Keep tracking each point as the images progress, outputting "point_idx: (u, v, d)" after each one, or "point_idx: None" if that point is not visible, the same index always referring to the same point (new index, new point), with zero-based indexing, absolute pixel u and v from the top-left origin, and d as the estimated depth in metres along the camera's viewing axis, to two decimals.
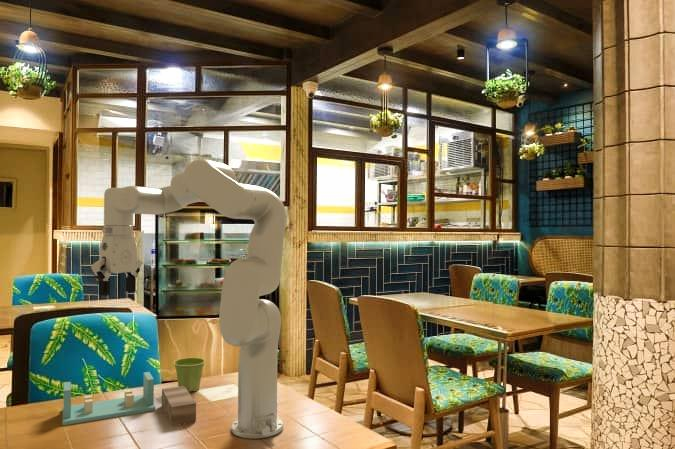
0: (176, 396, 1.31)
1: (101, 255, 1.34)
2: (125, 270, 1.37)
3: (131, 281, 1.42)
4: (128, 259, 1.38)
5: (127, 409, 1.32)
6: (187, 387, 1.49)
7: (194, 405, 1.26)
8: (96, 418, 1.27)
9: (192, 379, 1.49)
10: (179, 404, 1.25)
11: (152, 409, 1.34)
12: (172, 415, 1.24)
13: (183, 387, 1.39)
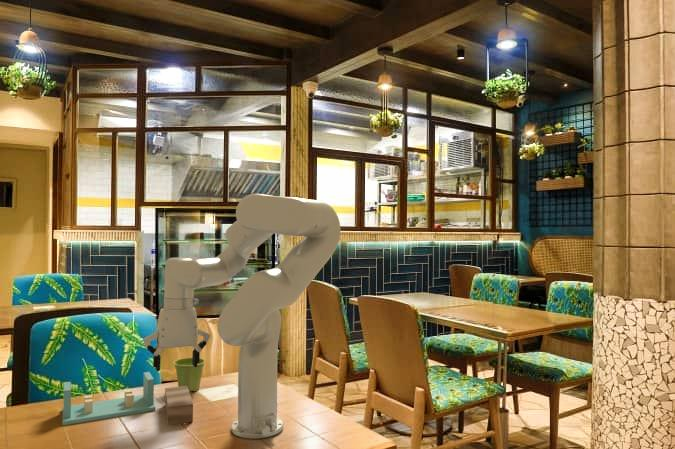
0: (175, 396, 1.31)
1: (197, 327, 1.34)
2: None
3: None
4: None
5: (127, 409, 1.32)
6: None
7: (191, 406, 1.26)
8: (96, 418, 1.27)
9: (192, 379, 1.49)
10: (176, 405, 1.25)
11: (152, 409, 1.34)
12: (168, 415, 1.24)
13: (186, 387, 1.39)
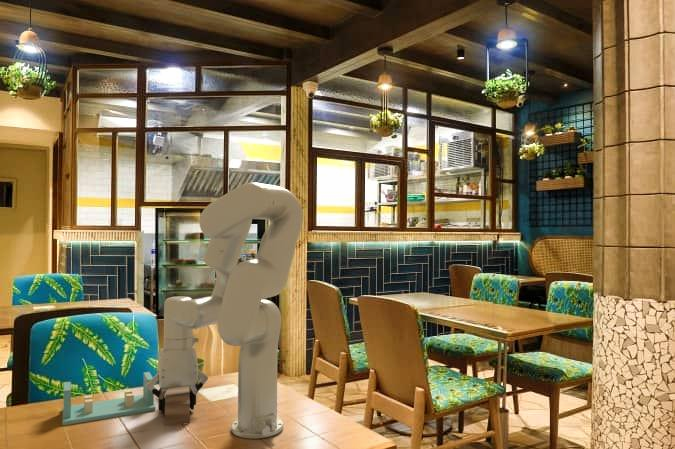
0: (174, 395, 1.31)
1: (197, 365, 1.34)
2: None
3: None
4: None
5: (127, 409, 1.32)
6: None
7: (188, 405, 1.25)
8: (96, 418, 1.27)
9: None
10: (173, 404, 1.25)
11: (152, 409, 1.34)
12: (165, 414, 1.24)
13: (187, 386, 1.39)
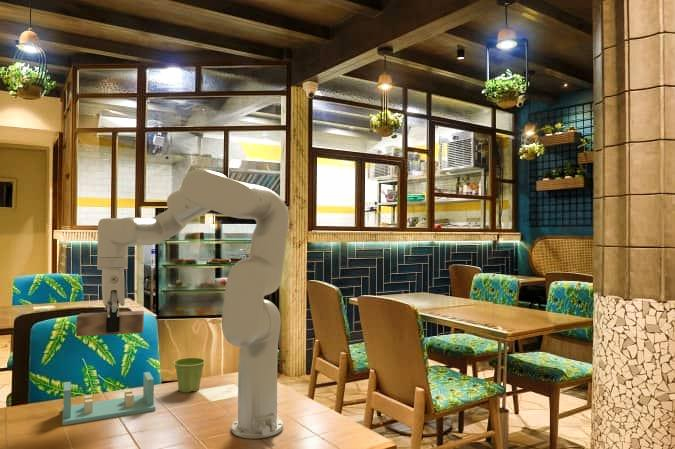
0: None
1: (109, 289, 1.30)
2: None
3: None
4: None
5: (127, 409, 1.32)
6: (187, 387, 1.49)
7: None
8: (96, 418, 1.27)
9: (192, 379, 1.49)
10: (82, 314, 1.33)
11: (152, 409, 1.34)
12: None
13: (137, 314, 1.34)
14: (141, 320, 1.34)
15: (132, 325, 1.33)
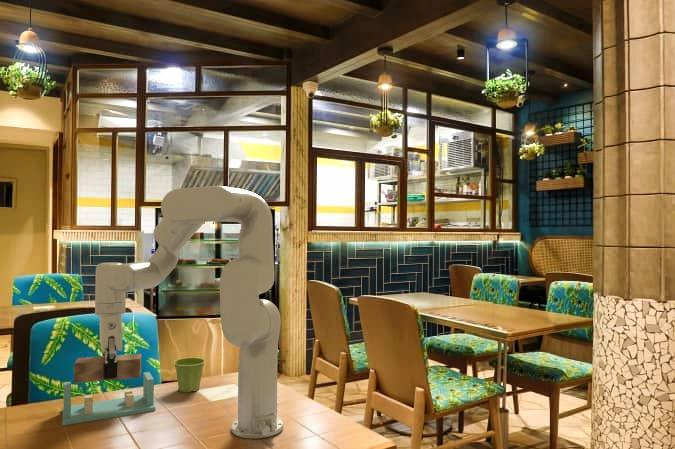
0: None
1: (107, 335, 1.29)
2: None
3: None
4: None
5: (127, 409, 1.32)
6: (187, 387, 1.49)
7: (74, 365, 1.29)
8: (96, 418, 1.27)
9: (192, 379, 1.49)
10: (79, 359, 1.33)
11: (152, 409, 1.34)
12: None
13: (134, 359, 1.34)
14: (139, 365, 1.34)
15: (130, 371, 1.33)
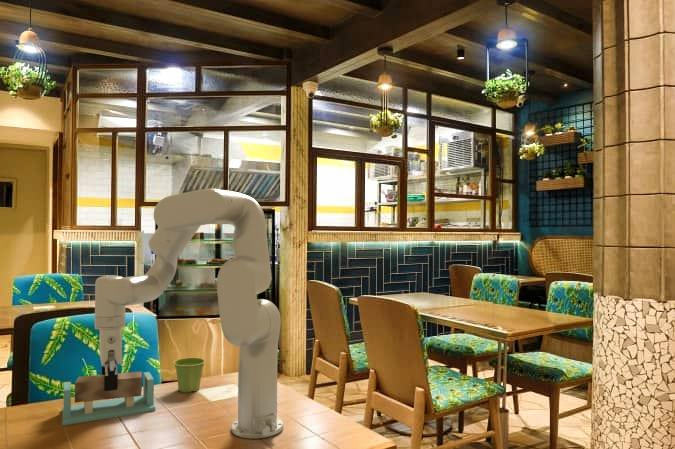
0: None
1: (107, 349, 1.29)
2: None
3: None
4: None
5: (127, 409, 1.32)
6: (187, 387, 1.49)
7: (75, 385, 1.29)
8: (96, 418, 1.27)
9: (192, 379, 1.49)
10: (80, 378, 1.32)
11: (152, 409, 1.34)
12: None
13: (135, 377, 1.34)
14: (140, 383, 1.34)
15: (131, 389, 1.33)
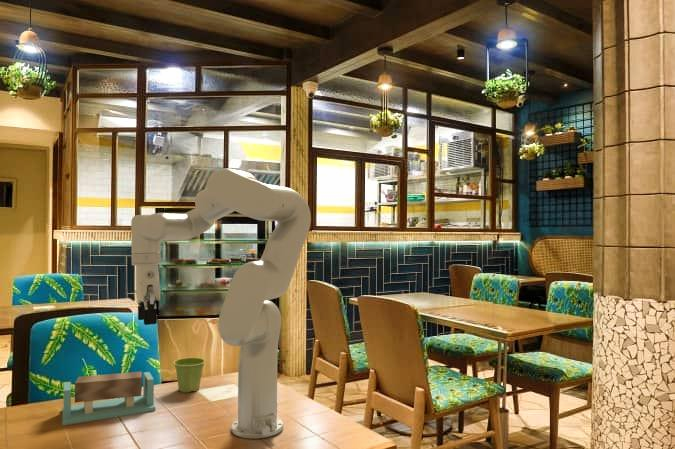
0: (107, 376, 1.34)
1: (146, 284, 1.32)
2: None
3: None
4: None
5: (127, 409, 1.32)
6: (187, 387, 1.49)
7: (75, 385, 1.29)
8: (96, 418, 1.27)
9: (192, 379, 1.49)
10: (80, 378, 1.32)
11: (152, 409, 1.34)
12: None
13: (135, 377, 1.34)
14: (140, 383, 1.34)
15: (131, 389, 1.33)
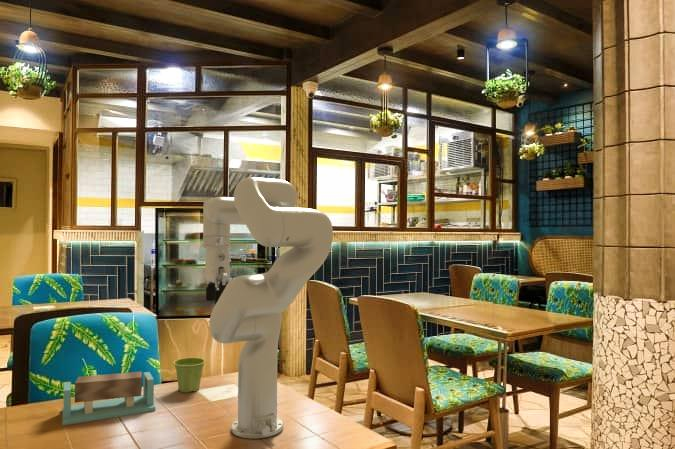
0: (107, 376, 1.34)
1: (217, 265, 1.37)
2: None
3: (214, 290, 1.46)
4: None
5: (127, 409, 1.32)
6: (187, 387, 1.49)
7: (75, 385, 1.29)
8: (96, 418, 1.27)
9: (192, 379, 1.49)
10: (80, 378, 1.32)
11: (152, 409, 1.34)
12: None
13: (135, 377, 1.34)
14: (140, 383, 1.34)
15: (131, 389, 1.33)
